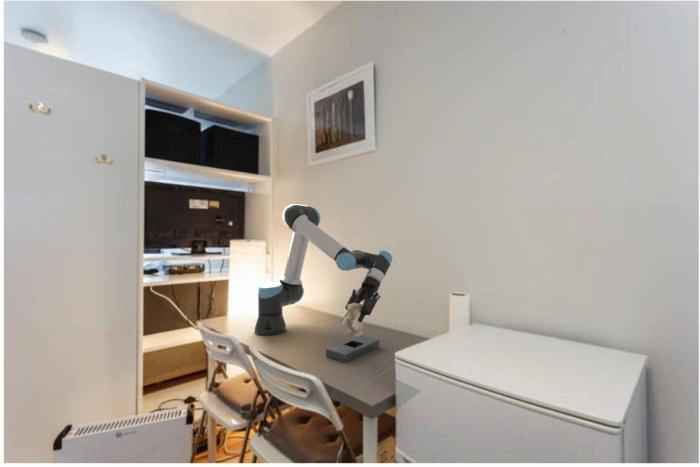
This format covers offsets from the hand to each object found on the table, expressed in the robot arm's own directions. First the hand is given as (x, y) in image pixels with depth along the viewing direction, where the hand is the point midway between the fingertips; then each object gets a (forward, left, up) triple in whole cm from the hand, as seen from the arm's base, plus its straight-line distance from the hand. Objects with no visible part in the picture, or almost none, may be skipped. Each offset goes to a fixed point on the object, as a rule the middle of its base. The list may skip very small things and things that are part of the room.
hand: (349, 327), depth 125 cm
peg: (0, +4, -4) cm, 5 cm away
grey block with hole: (-1, +4, -11) cm, 12 cm away
